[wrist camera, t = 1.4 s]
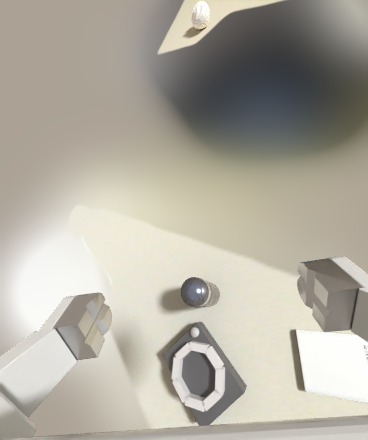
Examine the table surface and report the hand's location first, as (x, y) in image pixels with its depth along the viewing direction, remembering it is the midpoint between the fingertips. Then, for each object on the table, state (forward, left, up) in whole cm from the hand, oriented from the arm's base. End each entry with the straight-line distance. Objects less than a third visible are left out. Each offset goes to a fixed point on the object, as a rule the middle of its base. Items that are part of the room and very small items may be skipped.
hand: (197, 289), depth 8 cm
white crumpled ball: (+87, -62, -34) cm, 112 cm away
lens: (+7, +6, -34) cm, 35 cm away
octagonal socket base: (-2, +15, -34) cm, 37 cm away
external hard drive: (-14, -4, -35) cm, 37 cm away
